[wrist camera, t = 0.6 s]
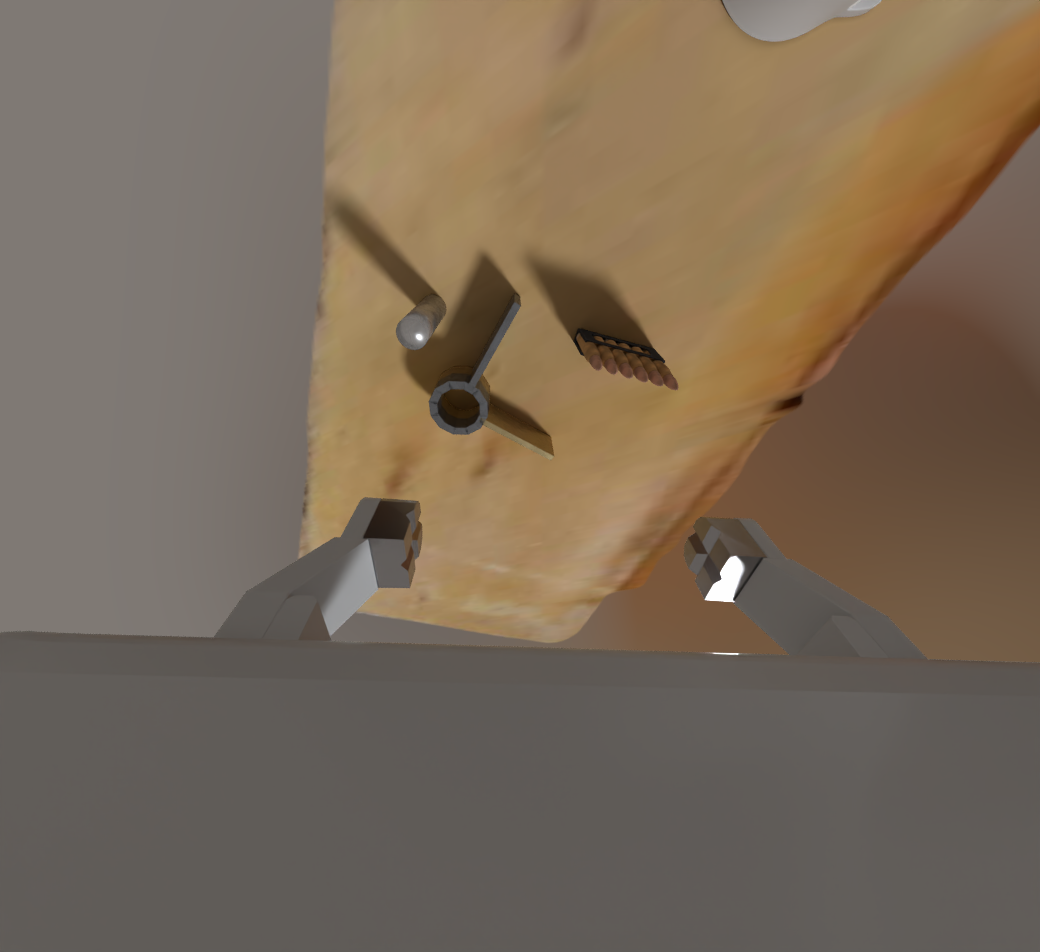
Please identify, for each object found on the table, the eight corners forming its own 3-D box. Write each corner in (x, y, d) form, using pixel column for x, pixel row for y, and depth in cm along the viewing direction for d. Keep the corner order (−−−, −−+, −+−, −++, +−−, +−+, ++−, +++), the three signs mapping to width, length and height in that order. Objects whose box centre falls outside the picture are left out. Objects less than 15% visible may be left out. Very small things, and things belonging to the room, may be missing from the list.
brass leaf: (450, 355, 49) (444, 370, 44) (563, 420, 55) (567, 438, 50) (428, 400, 53) (420, 417, 48) (536, 456, 58) (538, 476, 54)
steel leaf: (490, 276, 44) (487, 284, 39) (542, 311, 46) (545, 322, 41) (428, 400, 53) (420, 417, 48) (474, 424, 55) (471, 443, 50)
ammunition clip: (573, 342, 48) (588, 375, 38) (578, 327, 47) (594, 358, 37) (648, 362, 50) (680, 399, 40) (654, 348, 49) (689, 383, 39)
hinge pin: (427, 289, 44) (402, 311, 34) (450, 303, 45) (432, 328, 35) (417, 312, 46) (391, 339, 36) (440, 325, 47) (420, 355, 37)
